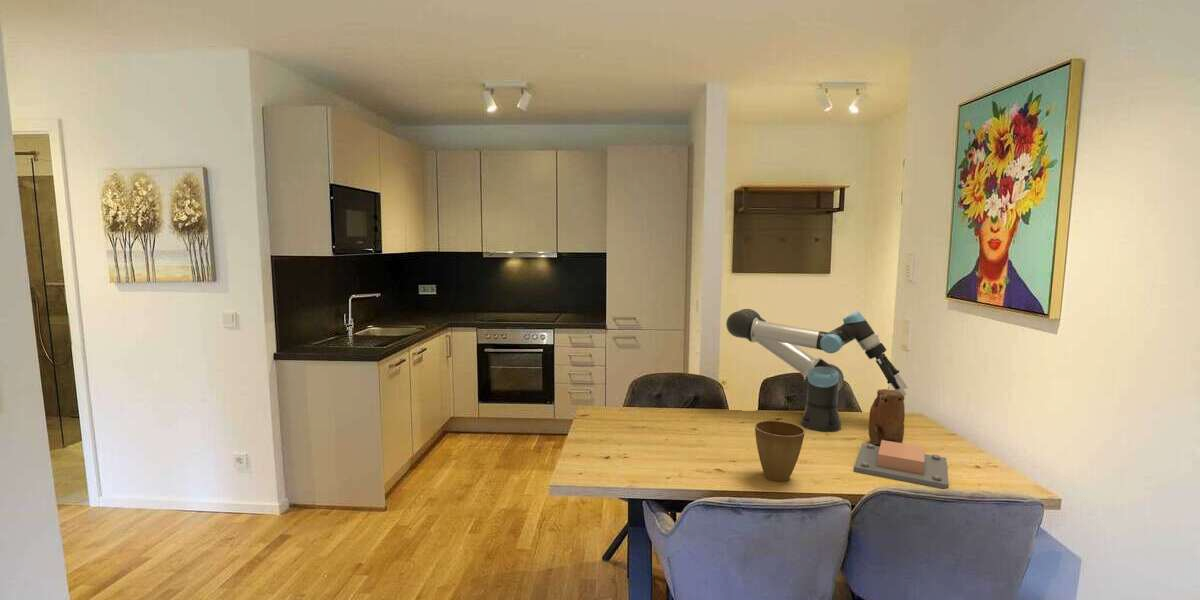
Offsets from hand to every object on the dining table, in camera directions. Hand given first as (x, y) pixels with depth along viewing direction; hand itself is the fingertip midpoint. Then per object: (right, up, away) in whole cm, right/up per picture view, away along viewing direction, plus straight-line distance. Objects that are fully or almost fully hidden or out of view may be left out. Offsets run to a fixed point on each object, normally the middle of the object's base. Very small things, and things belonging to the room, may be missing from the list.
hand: (904, 392), depth 223 cm
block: (-16, -17, -16) cm, 28 cm away
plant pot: (-66, -19, -48) cm, 84 cm away
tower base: (-22, -18, -38) cm, 48 cm away
